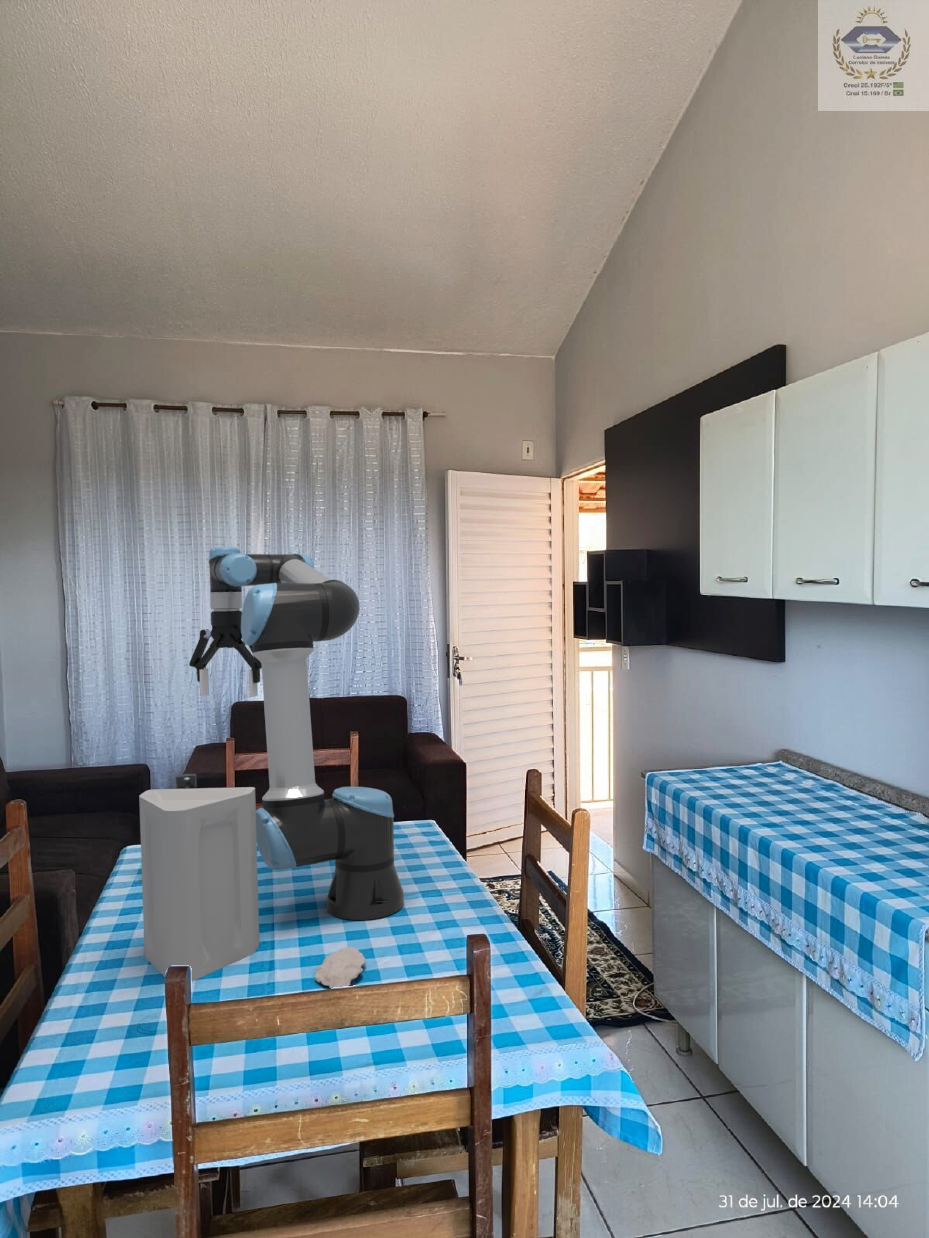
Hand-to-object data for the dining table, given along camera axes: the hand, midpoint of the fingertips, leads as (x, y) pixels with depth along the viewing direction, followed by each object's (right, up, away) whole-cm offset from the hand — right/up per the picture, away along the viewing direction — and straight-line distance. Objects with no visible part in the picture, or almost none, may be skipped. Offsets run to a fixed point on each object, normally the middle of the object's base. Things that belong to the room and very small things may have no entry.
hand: (228, 695), depth 202 cm
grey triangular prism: (+12, -40, -63) cm, 76 cm away
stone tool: (+38, -40, -69) cm, 88 cm away
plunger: (-3, -35, -20) cm, 41 cm away
